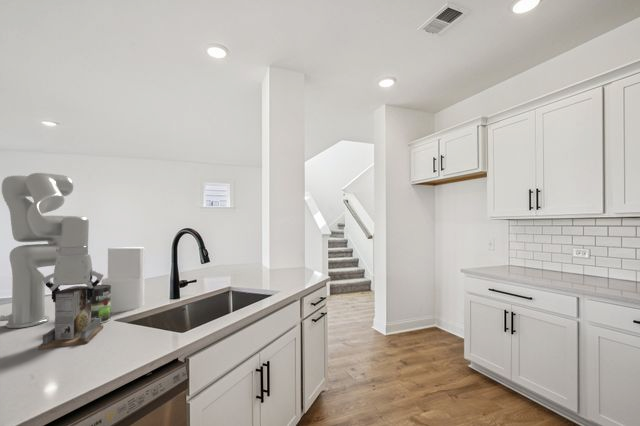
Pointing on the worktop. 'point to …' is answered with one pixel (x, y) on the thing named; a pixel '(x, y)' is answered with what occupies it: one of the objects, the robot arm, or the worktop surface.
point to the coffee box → (71, 312)
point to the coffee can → (101, 303)
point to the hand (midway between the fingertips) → (73, 300)
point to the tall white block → (126, 277)
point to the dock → (82, 339)
